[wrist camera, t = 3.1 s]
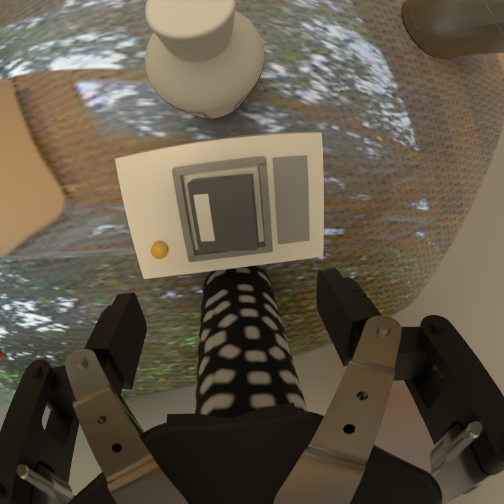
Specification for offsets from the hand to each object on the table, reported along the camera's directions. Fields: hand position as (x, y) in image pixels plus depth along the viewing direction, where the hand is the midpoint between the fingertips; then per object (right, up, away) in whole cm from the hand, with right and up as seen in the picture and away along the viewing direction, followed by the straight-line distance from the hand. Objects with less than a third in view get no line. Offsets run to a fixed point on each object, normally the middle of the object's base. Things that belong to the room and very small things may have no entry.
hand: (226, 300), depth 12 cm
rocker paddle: (-1, +5, +11) cm, 12 cm away
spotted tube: (-1, -3, +22) cm, 22 cm away
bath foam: (-3, +18, +12) cm, 22 cm away
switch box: (-2, +8, +17) cm, 19 cm away
